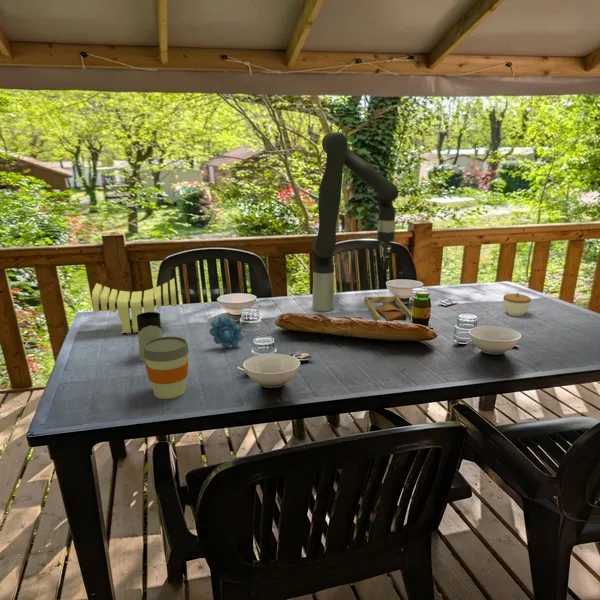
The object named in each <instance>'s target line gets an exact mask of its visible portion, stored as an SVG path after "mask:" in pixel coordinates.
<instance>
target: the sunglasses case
mask: <svg viewBox="0 0 600 600" xmlns="http://www.w3.org/2000/svg"><path fill="white" fill-rule="evenodd" d="M374 308H375V310H376V311H377V313H378V314H379V316H380V317H382V318H384V320H385V321H387V320H388V321H390V322H394V321H393V320H402V321H406V320H407V316H406V315H405V314H404V313H403V311H402V310H401V309H400V308H399V307H396V306H395V305H393V304H392V303H391V302H388V301H387V302H384V303H383V304H381V305H379V306H377V307H374ZM388 321H387V322H388Z"/></svg>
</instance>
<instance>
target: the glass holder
mask: <svg viewBox="0 0 600 600" xmlns="http://www.w3.org/2000/svg"><path fill="white" fill-rule="evenodd" d="M161 323H162V322H161V314H160V313H159V312H157V311H155V312H145V313H144V312H142V313H141V314H139V315H137V325H138V329H137V330H138V333H137V339H138V349H139V356H138V360H139V359H140V360H139V361H140V362H144V363H146V359H145V358H144V356H143V350H144V344H145V343H146V342H148V341H150V340H152V339H155V338H160V337H163V329H162V324H161Z"/></svg>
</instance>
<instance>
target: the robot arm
mask: <svg viewBox="0 0 600 600" xmlns="http://www.w3.org/2000/svg"><path fill="white" fill-rule="evenodd" d="M321 146H322V149H323V151H324V152H325V153H326V163H325V164H326V165H325V169H324V173H323V175H322V178H321V181H320V186H319V190H318V191H319V192H318V198H317V199H318V201H317V207H318V208H317V209H318V210H317V211H318V230H317V235H316V236H315V237H314V238H313V241H312V245H311V246H312V251H311V252H312V254H311V255H312V258H311V259H312V270H313V271H312V272H313V273H312V310H313V311H315V312H330V311H332V310H334V306H335V303H334V302H335V301H334V298H335V297H334V295H335V294H334V293H335V288H334V287H335V264H334V253H335V251H336V246H337V245H336V244H337V242H336V239H337V222H338V218H339V213H340V212H339V211H340V205H341V195H342V186H343V173H344V166H346V167H347V168H348V169H349V170H350V171H351V172H352V173H353V174H354V175H356V176H357V177H358V178H359V180H361V181H362V182H363V183H365V184H366V185H367V186H368V188H370V189H373V190H374V191H376V193H377V194H376V197H377V205H378V222H377V236H376V237H377V239H376V240H377V241H378V242H379V245H378V246H379V256H380V266H381V267H383V270H389V268H390V267H389V265H390V264H389V263H390V262H391V259H392V249H393V248H392V245H391V244H390V243H391V242H392V243H393V242H394V241H395V237H396V235H395V234H396V233H395V232H396V209H395V207H394V206H393V201H395V200H397V199H398V197H399V189H398V187H397V185H396V184H395V183H393V182H392V181H391V180H389V179H387V178H386V177H384V176H383V175H382V174H381V173H380V172H379V170H377V169H376V168H375V167H373V165H371V164H370V163H369V162H367V161H366V160H365V159H363V158H361V157H359V156H358V155H357V154H356V153H354V152H353V151H352V150H351V149H350V148H349V144H348V139H347V136H346V135H345V133H342V132H340V131H332V132H329V133H326V134H325V135H324V136H323V137H322V140H321Z"/></svg>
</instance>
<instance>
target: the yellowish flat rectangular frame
mask: <svg viewBox="0 0 600 600" xmlns="http://www.w3.org/2000/svg"><path fill="white" fill-rule="evenodd" d="M363 300H364V304H365V306H366V307H367V309H368V310H369V312H370V314H371V315H372V317H373V318H374V320H375V321H376V320H380V321H381V315H380V314H379V313H377V311H376V310H375V308H376V307H374V305H373V303H387V301H388V302H389V303H395V302H396V303H395V304H396V305H397V307H398V306H399V307H400V308H399V307H398V308H399V310H400V311H402V312H404V313H405V315H406V318H407V317H408V318H409V319H408V320H409V321H410V322H411V318H412V314H413V313H412V311H411V310H409V308H408V307H407V306H406V305H405V304H404V303H403V301H402V300H401V299H400V297H398V296H397V295H393V296H391V295H390V296H386V295H385V296H364V299H363ZM393 301H395V302H393Z"/></svg>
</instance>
